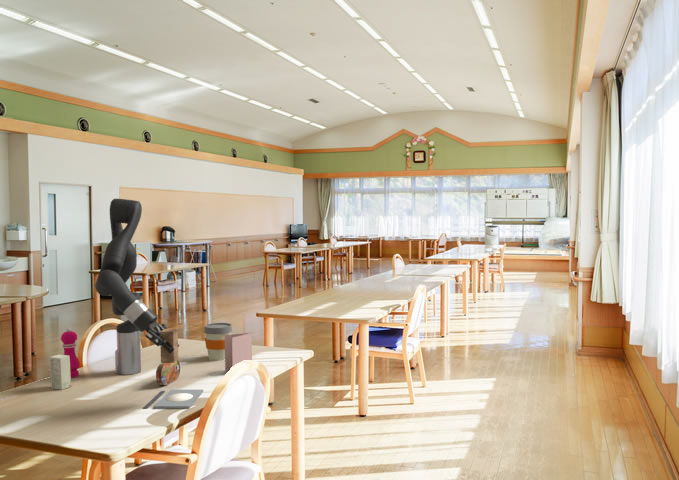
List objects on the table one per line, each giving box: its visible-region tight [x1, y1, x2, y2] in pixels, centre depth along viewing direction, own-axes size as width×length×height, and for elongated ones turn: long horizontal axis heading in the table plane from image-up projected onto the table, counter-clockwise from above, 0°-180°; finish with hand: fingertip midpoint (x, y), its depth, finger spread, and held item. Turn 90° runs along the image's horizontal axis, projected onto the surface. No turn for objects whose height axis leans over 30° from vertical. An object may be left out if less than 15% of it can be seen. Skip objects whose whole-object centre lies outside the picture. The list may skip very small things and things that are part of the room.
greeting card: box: [224, 332, 253, 371], centre depth 234 cm, size 11×7×15 cm, turn 110°
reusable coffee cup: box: [203, 322, 233, 361], centre depth 255 cm, size 13×13×15 cm
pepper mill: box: [60, 327, 80, 379], centre depth 227 cm, size 7×7×20 cm
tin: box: [155, 359, 181, 386], centre depth 219 cm, size 15×3×8 cm, turn 168°
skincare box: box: [49, 353, 72, 390], centre depth 212 cm, size 6×4×12 cm
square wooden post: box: [160, 328, 179, 364], centre depth 196 cm, size 5×5×11 cm
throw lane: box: [142, 389, 204, 410], centre depth 198 cm, size 16×18×1 cm
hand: (174, 349), depth 196 cm, fingers closed on square wooden post, 4 cm apart
